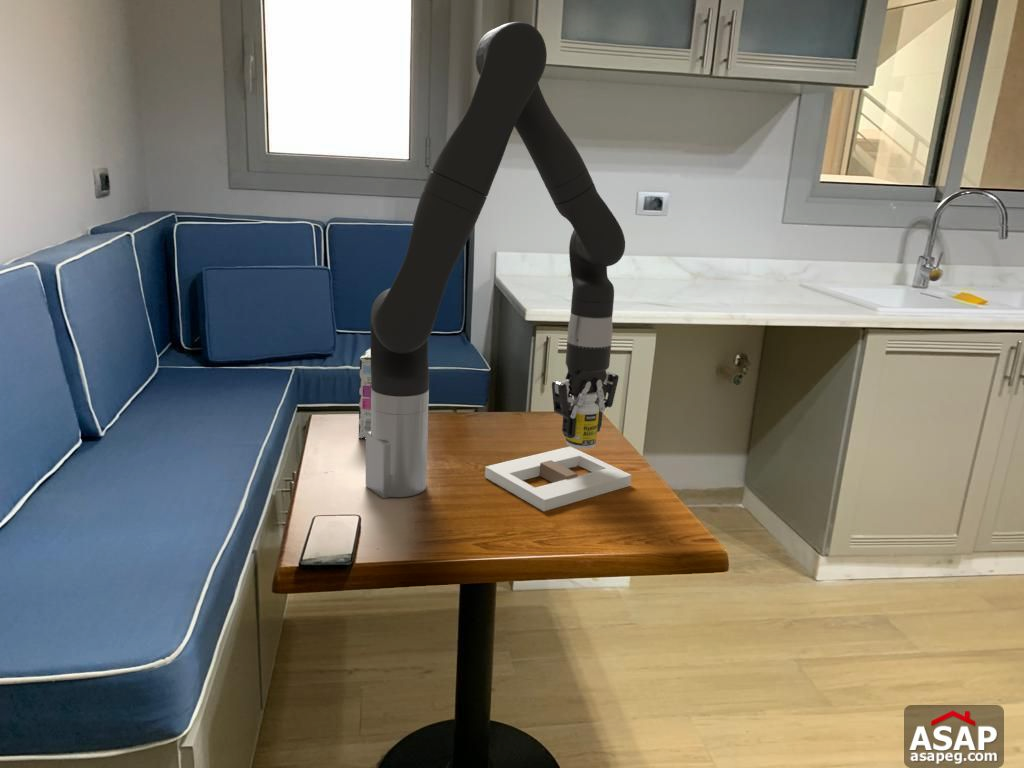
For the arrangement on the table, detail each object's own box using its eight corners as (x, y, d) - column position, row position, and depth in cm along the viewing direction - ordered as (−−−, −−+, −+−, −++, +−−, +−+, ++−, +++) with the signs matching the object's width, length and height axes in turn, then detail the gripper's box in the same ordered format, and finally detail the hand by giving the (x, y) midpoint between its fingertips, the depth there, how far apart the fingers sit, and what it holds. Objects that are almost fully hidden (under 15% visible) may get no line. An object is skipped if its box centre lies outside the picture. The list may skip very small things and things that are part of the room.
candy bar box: (383, 441, 150) (384, 359, 145) (357, 439, 150) (358, 357, 146) (393, 422, 161) (395, 345, 156) (369, 421, 161) (370, 344, 156)
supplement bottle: (583, 452, 134) (588, 398, 131) (559, 443, 137) (563, 390, 134) (602, 445, 137) (607, 392, 135) (578, 436, 141) (582, 385, 138)
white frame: (543, 511, 124) (544, 497, 123) (484, 477, 136) (485, 463, 135) (630, 485, 136) (631, 472, 135) (569, 456, 148) (570, 443, 147)
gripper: (572, 349, 125) (565, 448, 130) (634, 340, 134) (625, 433, 138) (542, 339, 130) (536, 434, 135) (604, 332, 139) (596, 421, 144)
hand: (581, 433), depth 137 cm, fingers closed on supplement bottle, 5 cm apart
